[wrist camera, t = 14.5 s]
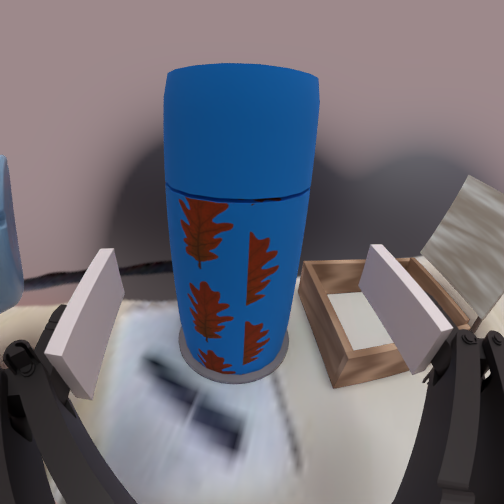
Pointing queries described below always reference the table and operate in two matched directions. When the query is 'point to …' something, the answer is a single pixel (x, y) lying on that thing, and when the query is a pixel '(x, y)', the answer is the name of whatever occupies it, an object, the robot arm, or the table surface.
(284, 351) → the disc
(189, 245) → the thermos
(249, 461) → the table surface
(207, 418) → the table surface
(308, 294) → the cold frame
